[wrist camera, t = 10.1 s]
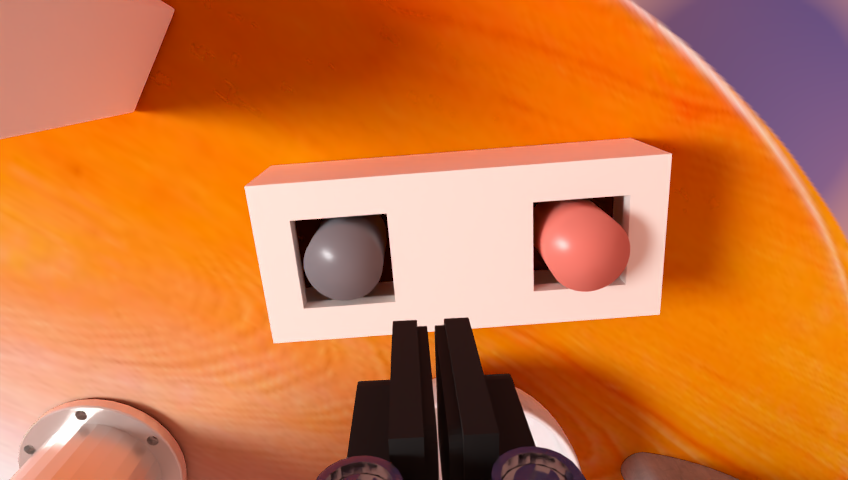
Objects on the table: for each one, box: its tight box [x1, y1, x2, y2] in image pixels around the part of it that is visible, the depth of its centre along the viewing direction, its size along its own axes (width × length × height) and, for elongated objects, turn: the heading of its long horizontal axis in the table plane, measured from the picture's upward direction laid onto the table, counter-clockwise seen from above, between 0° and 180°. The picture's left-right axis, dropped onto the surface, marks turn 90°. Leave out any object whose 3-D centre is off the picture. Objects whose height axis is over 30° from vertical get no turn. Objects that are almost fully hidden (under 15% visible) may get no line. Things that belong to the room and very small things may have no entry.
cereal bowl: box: [432, 378, 582, 480], centre depth 40 cm, size 17×17×7 cm
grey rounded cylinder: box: [304, 214, 387, 301], centre depth 34 cm, size 5×5×6 cm
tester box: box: [244, 138, 672, 343], centre depth 35 cm, size 10×24×6 cm, turn 94°
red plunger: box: [533, 198, 630, 292], centre depth 33 cm, size 5×5×6 cm
